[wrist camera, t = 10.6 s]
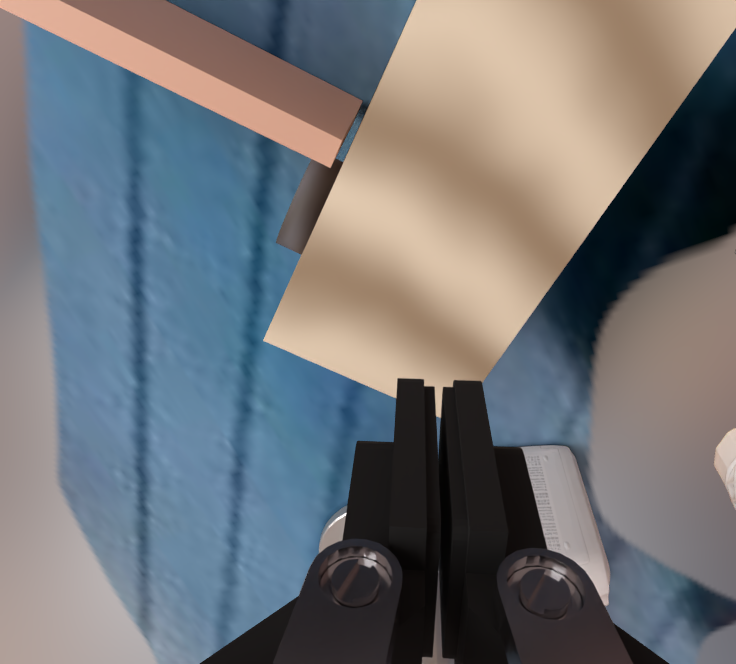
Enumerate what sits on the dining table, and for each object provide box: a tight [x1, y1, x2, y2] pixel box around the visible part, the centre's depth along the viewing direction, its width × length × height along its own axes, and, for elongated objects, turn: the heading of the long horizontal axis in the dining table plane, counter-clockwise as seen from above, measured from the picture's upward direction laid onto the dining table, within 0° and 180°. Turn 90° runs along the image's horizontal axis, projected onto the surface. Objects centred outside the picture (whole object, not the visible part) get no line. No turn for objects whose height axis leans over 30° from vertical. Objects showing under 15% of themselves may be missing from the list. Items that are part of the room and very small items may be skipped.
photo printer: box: [438, 445, 610, 606], centre depth 39 cm, size 10×4×12 cm, turn 100°
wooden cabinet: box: [263, 0, 736, 418], centre depth 28 cm, size 20×11×11 cm, turn 155°
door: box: [0, 0, 363, 168], centre depth 27 cm, size 15×2×10 cm, turn 65°
